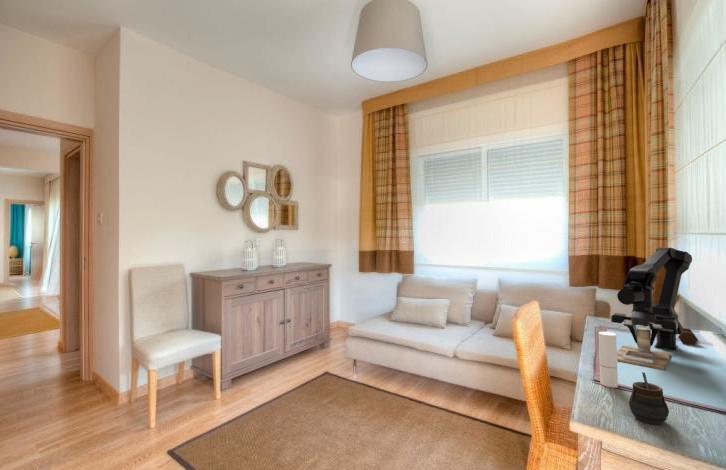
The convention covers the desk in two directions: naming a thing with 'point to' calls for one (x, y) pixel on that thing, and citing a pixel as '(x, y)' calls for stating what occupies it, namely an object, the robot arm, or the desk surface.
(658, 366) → the subfloor panel
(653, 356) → the collar
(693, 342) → the brown textured oblong piece
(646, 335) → the beige rounded cylinder
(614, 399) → the desk surface
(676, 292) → the robot arm
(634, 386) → the mate gourd
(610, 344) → the tube
